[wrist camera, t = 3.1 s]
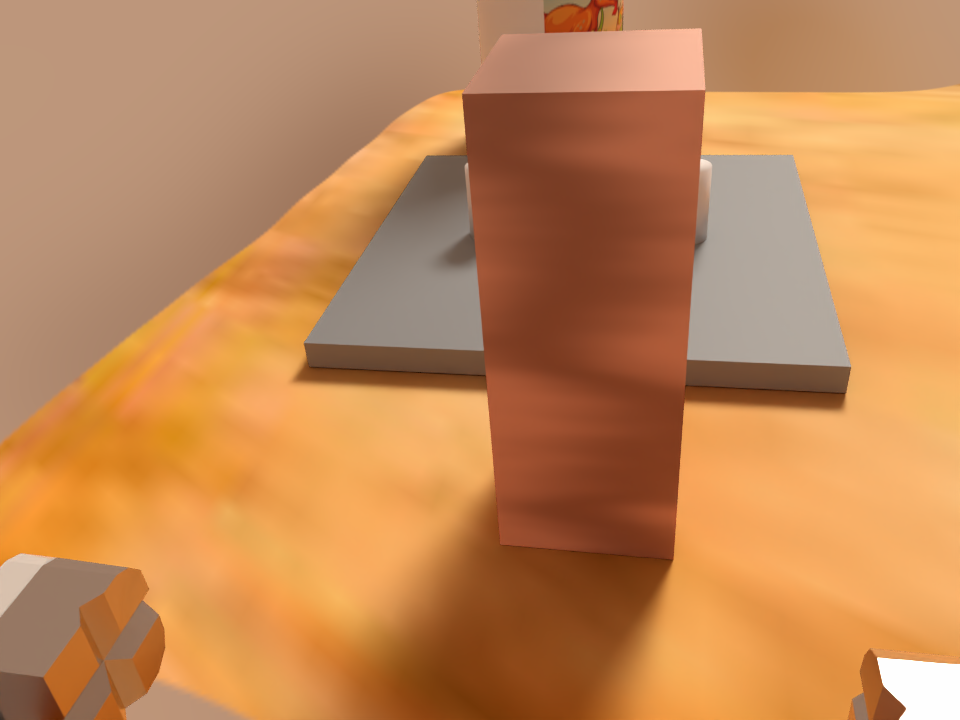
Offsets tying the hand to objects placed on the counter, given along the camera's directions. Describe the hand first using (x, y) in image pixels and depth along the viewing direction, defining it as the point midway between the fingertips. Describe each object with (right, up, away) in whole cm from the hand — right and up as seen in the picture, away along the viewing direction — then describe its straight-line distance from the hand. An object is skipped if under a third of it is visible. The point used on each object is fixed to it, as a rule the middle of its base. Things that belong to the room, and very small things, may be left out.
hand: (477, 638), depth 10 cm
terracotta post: (+3, -1, +15) cm, 15 cm away
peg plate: (+4, +8, +27) cm, 28 cm away
